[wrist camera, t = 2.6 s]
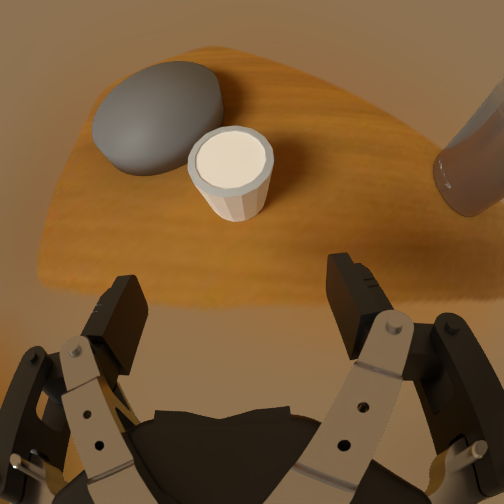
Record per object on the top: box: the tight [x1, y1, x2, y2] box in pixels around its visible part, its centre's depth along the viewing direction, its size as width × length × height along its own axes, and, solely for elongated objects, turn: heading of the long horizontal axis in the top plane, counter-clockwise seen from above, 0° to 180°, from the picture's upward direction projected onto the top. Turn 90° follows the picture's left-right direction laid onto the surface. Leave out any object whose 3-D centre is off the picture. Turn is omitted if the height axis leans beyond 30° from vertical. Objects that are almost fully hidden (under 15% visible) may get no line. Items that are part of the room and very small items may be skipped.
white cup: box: [188, 126, 274, 222], centre depth 24 cm, size 7×7×7 cm
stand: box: [92, 61, 224, 176], centre depth 28 cm, size 16×16×4 cm
